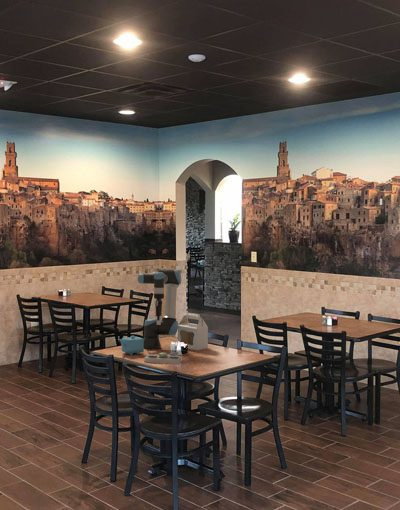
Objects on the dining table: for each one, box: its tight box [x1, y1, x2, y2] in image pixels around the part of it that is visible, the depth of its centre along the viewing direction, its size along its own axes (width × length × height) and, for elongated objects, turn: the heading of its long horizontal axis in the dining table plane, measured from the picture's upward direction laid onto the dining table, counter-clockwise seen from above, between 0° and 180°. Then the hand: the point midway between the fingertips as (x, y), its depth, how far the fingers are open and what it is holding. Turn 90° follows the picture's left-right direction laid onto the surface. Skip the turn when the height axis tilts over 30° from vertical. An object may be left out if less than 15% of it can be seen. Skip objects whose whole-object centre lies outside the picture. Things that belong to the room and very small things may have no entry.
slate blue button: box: [169, 351, 179, 356], centre depth 464 cm, size 6×6×2 cm
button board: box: [143, 354, 183, 365], centre depth 465 cm, size 12×25×3 cm, turn 80°
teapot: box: [117, 335, 145, 356], centre depth 490 cm, size 22×11×14 cm, turn 123°
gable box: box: [177, 311, 209, 351], centre depth 520 cm, size 22×13×28 cm, turn 46°
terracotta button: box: [147, 350, 158, 355], centre depth 466 cm, size 6×6×2 cm
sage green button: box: [158, 352, 168, 356], centre depth 465 cm, size 6×6×2 cm
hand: (158, 324), depth 479 cm, fingers closed
